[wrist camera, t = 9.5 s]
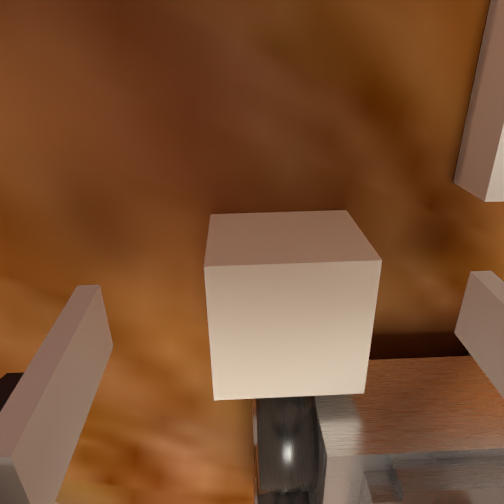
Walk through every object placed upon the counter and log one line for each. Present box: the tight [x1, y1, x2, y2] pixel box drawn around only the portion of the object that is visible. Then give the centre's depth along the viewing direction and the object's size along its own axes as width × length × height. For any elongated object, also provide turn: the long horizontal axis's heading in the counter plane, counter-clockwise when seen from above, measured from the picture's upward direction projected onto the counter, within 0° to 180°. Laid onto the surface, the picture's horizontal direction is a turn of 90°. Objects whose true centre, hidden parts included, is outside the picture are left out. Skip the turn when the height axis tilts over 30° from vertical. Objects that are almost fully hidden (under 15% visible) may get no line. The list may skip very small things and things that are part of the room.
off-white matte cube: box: [204, 210, 382, 400], centre depth 17 cm, size 6×6×5 cm
